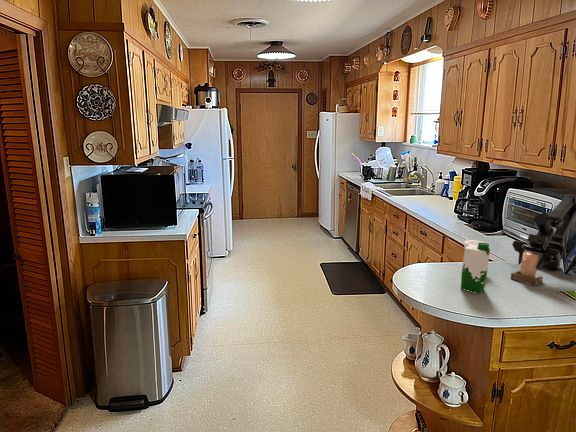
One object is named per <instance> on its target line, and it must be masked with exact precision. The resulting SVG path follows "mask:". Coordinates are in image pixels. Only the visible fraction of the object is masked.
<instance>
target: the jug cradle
mask: <svg viewBox="0 0 576 432" xmlns="http://www.w3.org/2000/svg"><path fill="white" fill-rule="evenodd" d="M520 270H521V269H518V270H515V271H513V272H511V273H510V279H511V280H514V281H517V282H521V283H524V284H527V285H530V286H537V285H539V284H541V283H543V277H544V276H543V275H540V276H538V277H535V279H532V278H528V277H525V276H522V275H520Z"/></svg>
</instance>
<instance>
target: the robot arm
mask: <svg viewBox="0 0 576 432" xmlns="http://www.w3.org/2000/svg"><path fill="white" fill-rule="evenodd" d="M575 219H576V195H573V194H564V195H563V197H562V199H561V201H559V203H558V204H557V205H556V206H555V208H554V209H552V210H549V211H547V212H545V211H544V212H543V211H542V212H541V213H540V214H537V215H536V216H534V218H533V222H534V225H535V228H536V230H537V232H536V234H533V233H529V234H528V237H527V239H526V240H527V241H529V245H531V246H527V245H526V244H525V241H523V240H521V241H520V240H518V239H517V240H514V241H513V242H512V244H511V245H512V247H513V249H514V251H515V252H517V253H518V265H521V264H522V257H523V252H525V251H526V250H528V251H532V252H536V253H540V254H543V256H542V258H541V260H540V262H539V263H538V265H537V267H536V269H537V270H540V268H544V269H545V270H549V271H552V272H554V271H555V272H556V271H563V268H562V267H561V261H562V260H566V256H567V251H566V244H565V239H566V237H567V235H568V233H569V231H570V229H571V226H572V225H573V223H574V222H575Z"/></svg>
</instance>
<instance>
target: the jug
mask: <svg viewBox="0 0 576 432" xmlns="http://www.w3.org/2000/svg"><path fill="white" fill-rule="evenodd" d="M538 258H539V254H537V253H534V252H523V257H522V262H521V264H520V269H519V270H520V275H522V276H525V277H528V278H532V279H535V278H537V277H536V276H537V270H538V269H536V267H537V264H538Z"/></svg>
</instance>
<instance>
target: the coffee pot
mask: <svg viewBox="0 0 576 432" xmlns="http://www.w3.org/2000/svg"><path fill="white" fill-rule="evenodd" d="M503 231H504V232H506V233H507V234H509V235H511V236H512V237H515V238H517V239H519V240H521V241H522V242H524V243H527V245H526V246H531V245H529V241H527V240H528V239H525V238H523V237H522V236H519V235H517V234H516V233H515V232H512V231H509V230H508V229H506V228H503V229H502V230H501V232H503ZM525 252H532V251H528V250H526V251H525ZM534 253H536V252H534ZM537 254H539V258H538V263H539V262H540V260H541V258H542V256H543V254H540V253H537ZM537 265H538V264H537Z"/></svg>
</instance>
